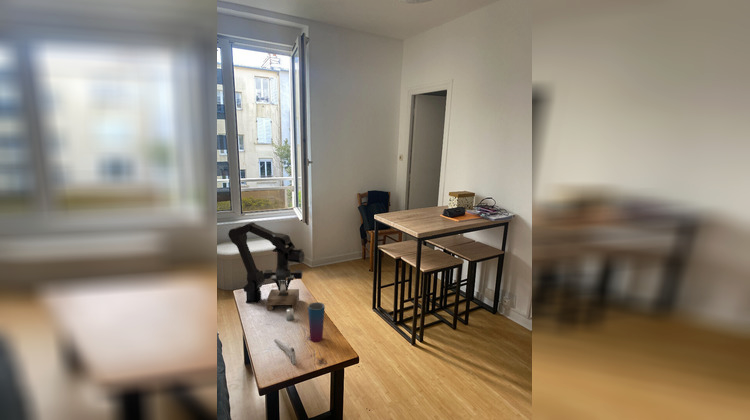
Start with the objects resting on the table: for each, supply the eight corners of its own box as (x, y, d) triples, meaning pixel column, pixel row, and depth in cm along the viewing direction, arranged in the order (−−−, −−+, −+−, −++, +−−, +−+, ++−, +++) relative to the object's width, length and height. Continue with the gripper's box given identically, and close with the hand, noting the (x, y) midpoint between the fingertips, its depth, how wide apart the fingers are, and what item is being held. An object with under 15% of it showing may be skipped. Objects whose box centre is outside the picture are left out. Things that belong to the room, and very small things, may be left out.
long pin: (279, 298, 184) (279, 281, 182) (280, 295, 187) (280, 279, 185) (286, 298, 184) (286, 281, 182) (287, 295, 187) (286, 279, 185)
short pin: (286, 321, 170) (286, 310, 169) (287, 317, 174) (286, 307, 173) (293, 320, 171) (293, 310, 170) (293, 317, 174) (293, 307, 173)
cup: (306, 336, 158) (306, 303, 155) (322, 333, 160) (322, 301, 158) (310, 344, 151) (310, 310, 149) (326, 341, 154) (326, 308, 151)
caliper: (295, 365, 138) (295, 349, 137) (293, 366, 138) (293, 350, 136) (275, 340, 154) (275, 326, 153) (273, 341, 154) (273, 327, 153)
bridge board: (267, 310, 180) (266, 299, 179) (271, 300, 191) (271, 289, 190) (296, 310, 181) (296, 298, 180) (298, 300, 193) (298, 289, 192)
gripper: (260, 266, 173) (260, 297, 176) (300, 266, 175) (300, 297, 178) (264, 258, 184) (265, 288, 187) (302, 258, 186) (302, 288, 189)
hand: (283, 290), depth 185 cm, fingers closed on long pin, 3 cm apart
